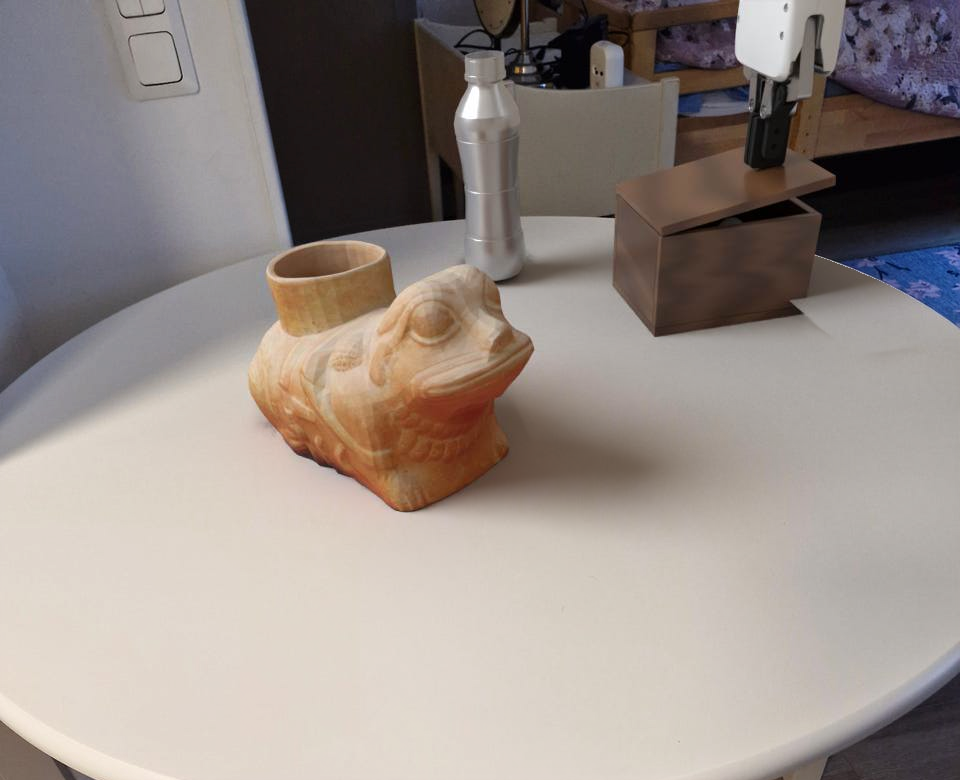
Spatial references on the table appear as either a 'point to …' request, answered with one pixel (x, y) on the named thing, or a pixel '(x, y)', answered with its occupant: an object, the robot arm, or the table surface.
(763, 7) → the robot arm
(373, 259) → the ceramic vessel
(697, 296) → the chest
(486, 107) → the silver bottle
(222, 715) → the table surface
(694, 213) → the lid
